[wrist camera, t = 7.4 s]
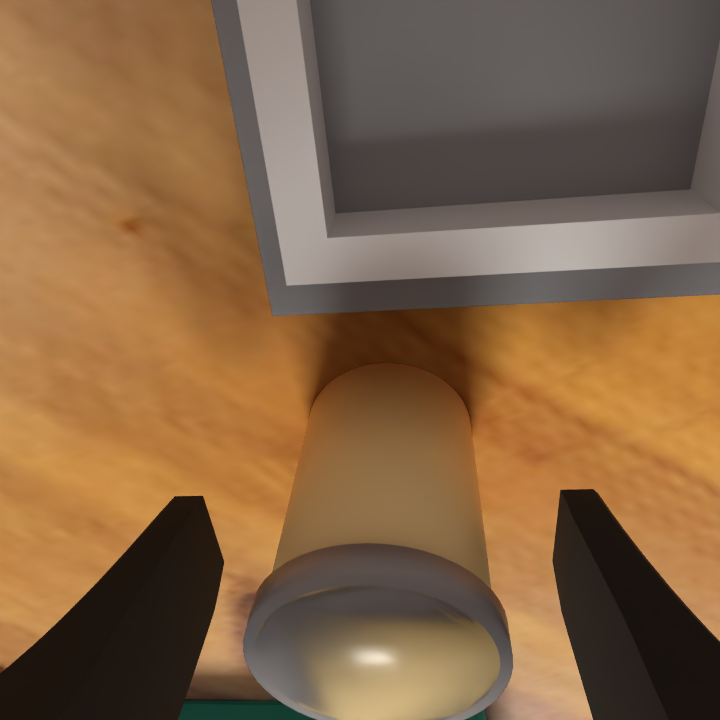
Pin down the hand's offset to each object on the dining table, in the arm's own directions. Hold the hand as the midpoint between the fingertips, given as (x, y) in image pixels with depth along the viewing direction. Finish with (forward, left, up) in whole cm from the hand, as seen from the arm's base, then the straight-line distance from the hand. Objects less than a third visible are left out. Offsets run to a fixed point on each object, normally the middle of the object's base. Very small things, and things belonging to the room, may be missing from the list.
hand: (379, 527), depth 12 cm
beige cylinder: (0, 0, -3) cm, 3 cm away
